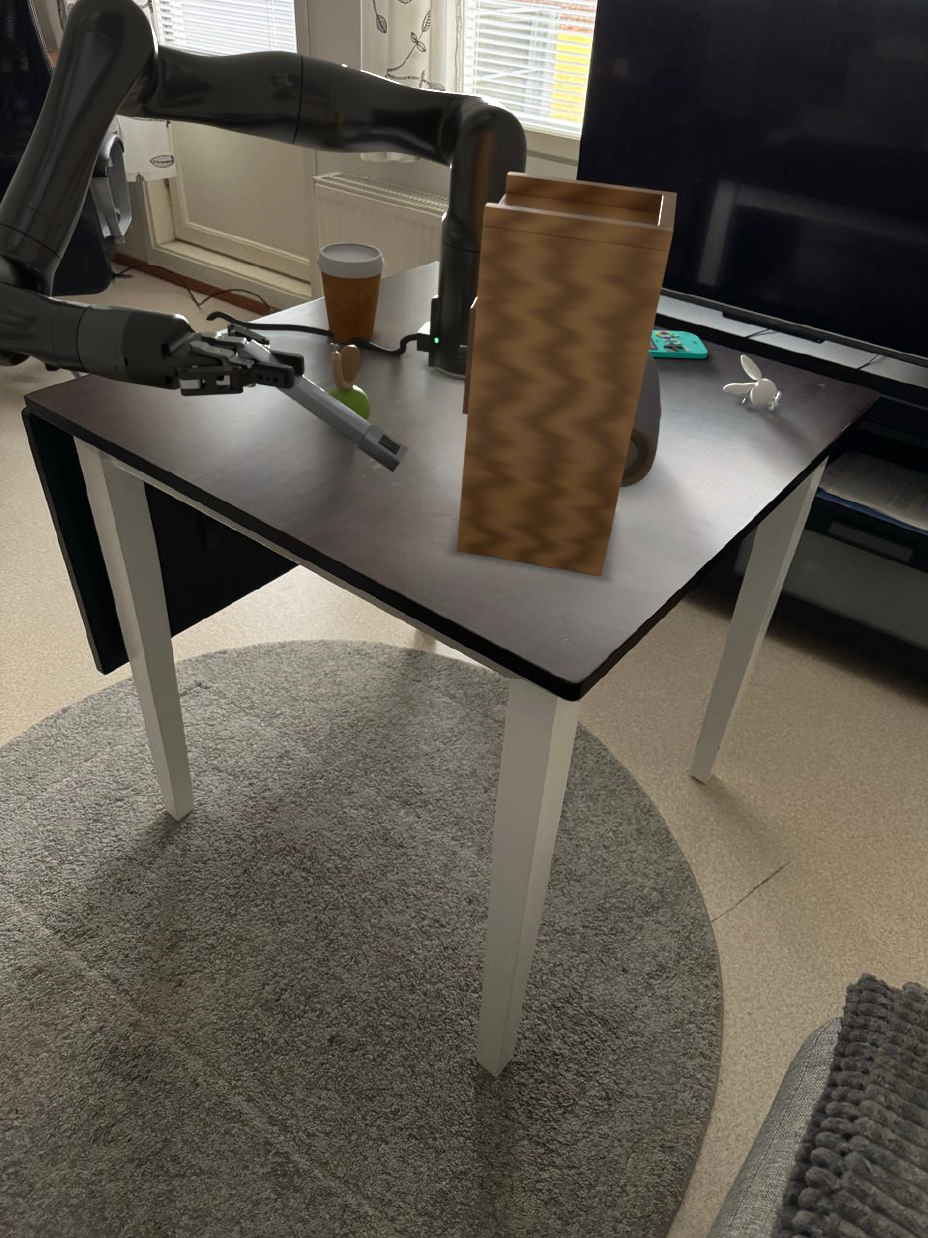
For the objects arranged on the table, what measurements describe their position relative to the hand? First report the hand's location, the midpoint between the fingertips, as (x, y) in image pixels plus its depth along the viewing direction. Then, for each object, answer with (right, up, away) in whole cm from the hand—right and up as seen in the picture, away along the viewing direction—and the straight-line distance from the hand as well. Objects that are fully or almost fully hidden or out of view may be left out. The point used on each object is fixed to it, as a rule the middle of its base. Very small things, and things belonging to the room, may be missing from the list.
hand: (297, 372), depth 92 cm
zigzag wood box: (+24, -16, +6) cm, 30 cm away
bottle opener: (+3, -4, +2) cm, 5 cm away
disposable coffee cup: (0, +17, +43) cm, 46 cm away
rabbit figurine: (+56, +5, +35) cm, 66 cm away
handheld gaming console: (+46, +17, +48) cm, 68 cm away
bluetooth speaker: (+35, -4, +21) cm, 41 cm away
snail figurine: (+2, -2, +21) cm, 21 cm away
